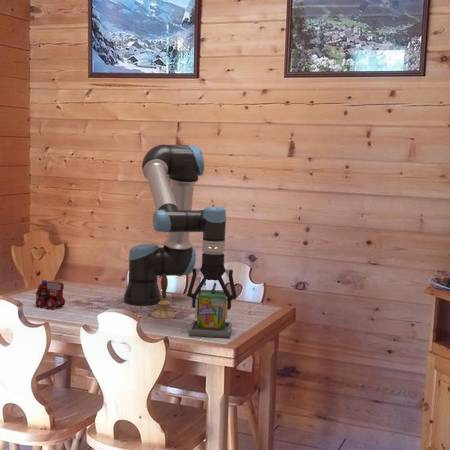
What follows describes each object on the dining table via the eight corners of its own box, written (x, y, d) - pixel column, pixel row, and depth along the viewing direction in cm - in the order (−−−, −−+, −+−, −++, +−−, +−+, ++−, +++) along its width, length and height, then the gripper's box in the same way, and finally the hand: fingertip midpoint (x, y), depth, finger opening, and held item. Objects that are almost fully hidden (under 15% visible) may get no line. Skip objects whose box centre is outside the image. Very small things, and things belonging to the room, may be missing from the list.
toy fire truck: (43, 303, 269) (43, 277, 268) (68, 307, 264) (68, 281, 263) (31, 306, 263) (31, 280, 262) (56, 310, 257) (56, 283, 256)
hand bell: (175, 319, 251) (176, 276, 249) (152, 319, 249) (154, 276, 248) (173, 314, 259) (175, 272, 257) (151, 314, 258) (152, 272, 256)
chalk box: (196, 322, 237) (198, 280, 236) (223, 322, 238) (224, 280, 237) (198, 328, 228) (199, 285, 227) (225, 329, 229) (226, 285, 228)
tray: (188, 336, 227) (189, 330, 227) (192, 326, 240) (193, 320, 240) (229, 338, 226) (230, 331, 226) (231, 328, 240) (231, 322, 240)
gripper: (179, 252, 228) (177, 319, 230) (245, 255, 227) (243, 322, 229) (182, 249, 235) (180, 313, 237) (246, 252, 234) (243, 316, 236)
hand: (211, 317), depth 233 cm, fingers closed on chalk box, 9 cm apart
